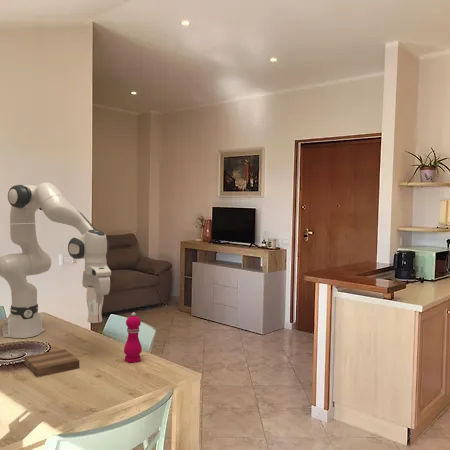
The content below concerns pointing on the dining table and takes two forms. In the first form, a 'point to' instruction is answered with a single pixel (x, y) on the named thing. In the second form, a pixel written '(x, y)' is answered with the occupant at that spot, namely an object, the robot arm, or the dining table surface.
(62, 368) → the walnut base
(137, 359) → the pepper mill
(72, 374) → the dining table surface
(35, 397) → the dining table surface
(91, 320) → the beer glass
